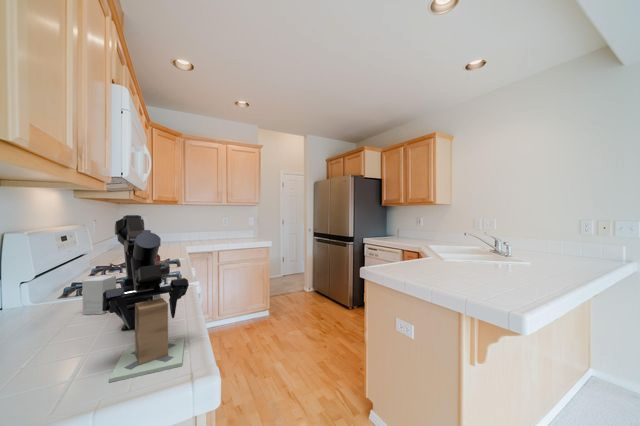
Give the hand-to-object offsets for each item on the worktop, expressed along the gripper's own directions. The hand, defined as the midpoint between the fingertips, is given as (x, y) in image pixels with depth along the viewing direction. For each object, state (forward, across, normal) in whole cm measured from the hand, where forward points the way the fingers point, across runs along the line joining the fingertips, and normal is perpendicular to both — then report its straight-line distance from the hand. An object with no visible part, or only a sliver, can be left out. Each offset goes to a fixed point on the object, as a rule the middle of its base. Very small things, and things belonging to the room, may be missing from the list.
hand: (152, 322), depth 65 cm
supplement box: (-31, -8, +45) cm, 55 cm away
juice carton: (-30, +7, +44) cm, 54 cm away
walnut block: (+5, 0, +7) cm, 9 cm away
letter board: (+6, 0, +7) cm, 9 cm away
